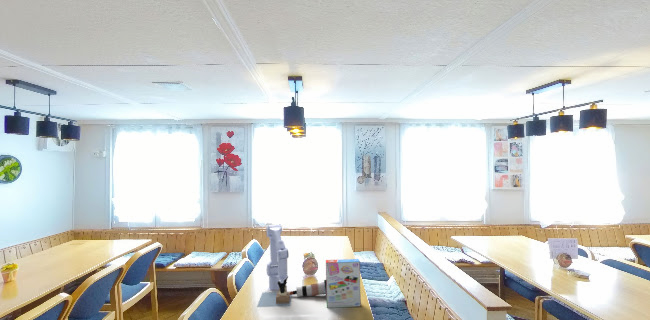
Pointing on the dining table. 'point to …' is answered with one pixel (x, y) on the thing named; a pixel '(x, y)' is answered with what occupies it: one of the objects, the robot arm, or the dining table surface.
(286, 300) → the walnut base
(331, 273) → the game box
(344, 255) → the dining table surface
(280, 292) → the maple cube
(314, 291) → the cable
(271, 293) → the mat
